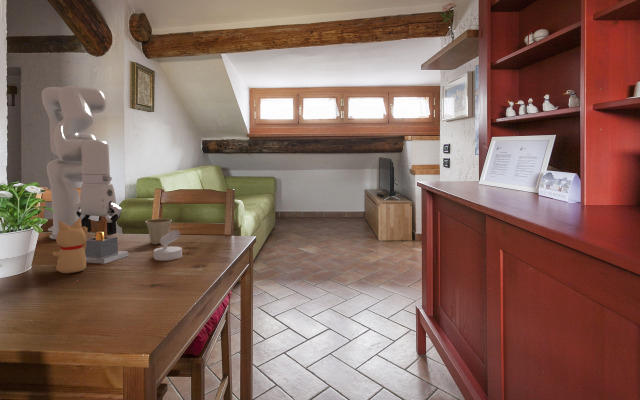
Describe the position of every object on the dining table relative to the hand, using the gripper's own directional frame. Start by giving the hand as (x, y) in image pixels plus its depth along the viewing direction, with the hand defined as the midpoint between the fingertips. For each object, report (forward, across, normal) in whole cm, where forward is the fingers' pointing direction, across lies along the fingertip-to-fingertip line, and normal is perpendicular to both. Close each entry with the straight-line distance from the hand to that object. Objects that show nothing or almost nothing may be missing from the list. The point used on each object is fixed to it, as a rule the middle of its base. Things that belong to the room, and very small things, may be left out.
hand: (99, 233), depth 121 cm
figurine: (+8, -4, +13) cm, 16 cm away
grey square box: (+7, -1, 0) cm, 7 cm away
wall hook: (+8, -21, -7) cm, 23 cm away
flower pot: (+9, -4, -25) cm, 26 cm away
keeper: (+8, -1, 0) cm, 8 cm away
